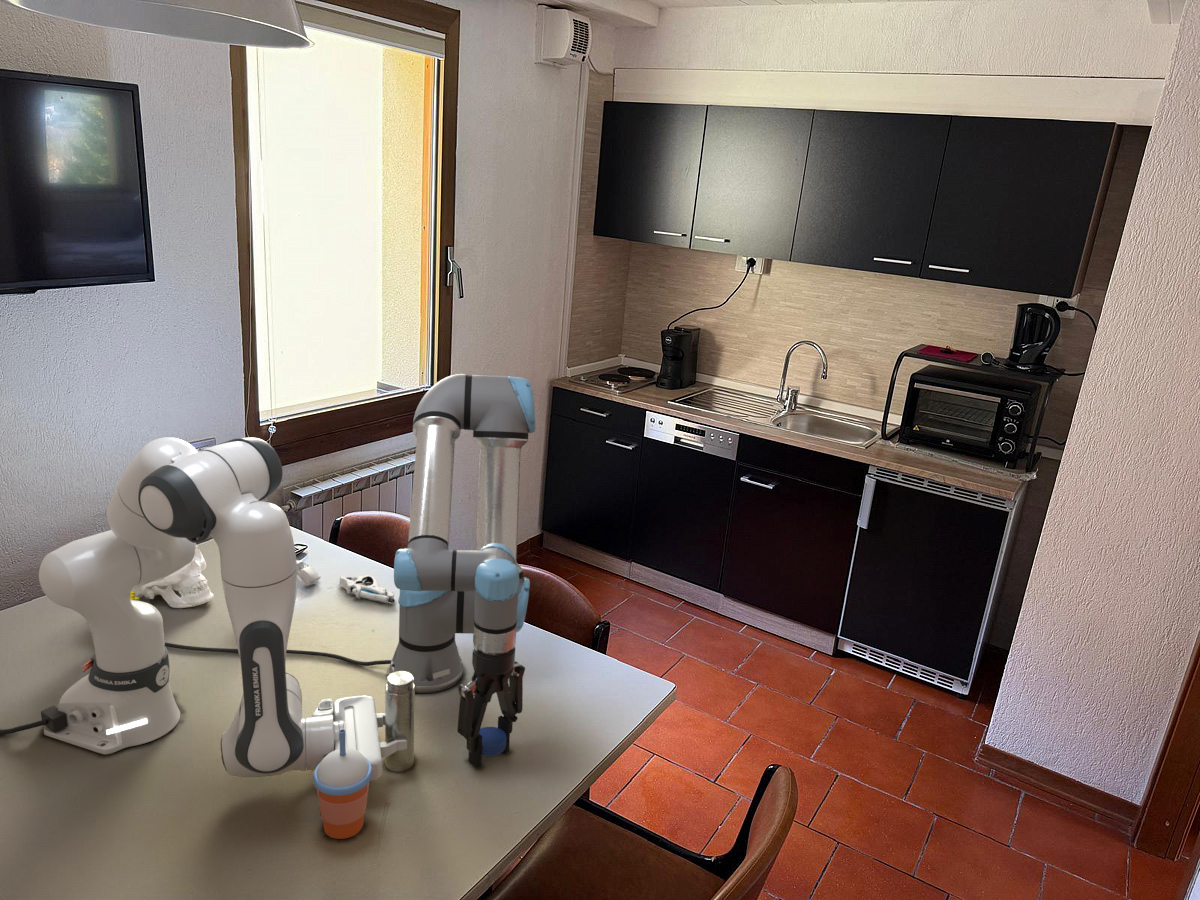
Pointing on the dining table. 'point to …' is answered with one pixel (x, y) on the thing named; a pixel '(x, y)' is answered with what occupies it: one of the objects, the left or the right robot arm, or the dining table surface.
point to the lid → (492, 741)
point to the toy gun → (366, 589)
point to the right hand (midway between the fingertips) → (488, 756)
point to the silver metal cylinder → (400, 718)
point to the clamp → (307, 573)
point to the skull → (182, 585)
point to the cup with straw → (343, 790)
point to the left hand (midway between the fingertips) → (404, 731)
